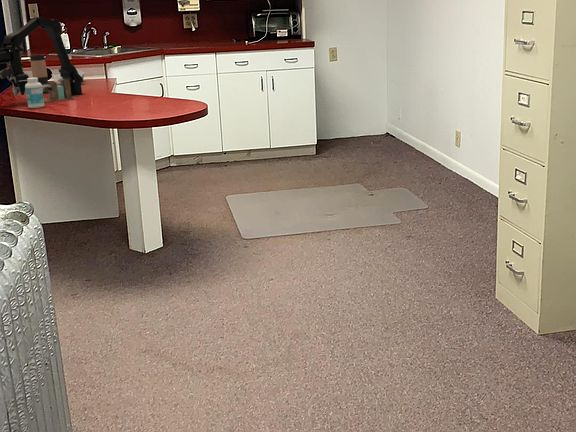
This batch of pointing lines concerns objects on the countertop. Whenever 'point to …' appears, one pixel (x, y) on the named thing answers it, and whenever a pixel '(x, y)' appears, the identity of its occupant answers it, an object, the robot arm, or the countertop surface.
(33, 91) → the pill bottle
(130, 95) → the countertop surface
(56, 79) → the sculpture
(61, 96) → the collar
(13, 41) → the robot arm
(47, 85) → the shaft
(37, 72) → the travel mug
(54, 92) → the bearing stand
